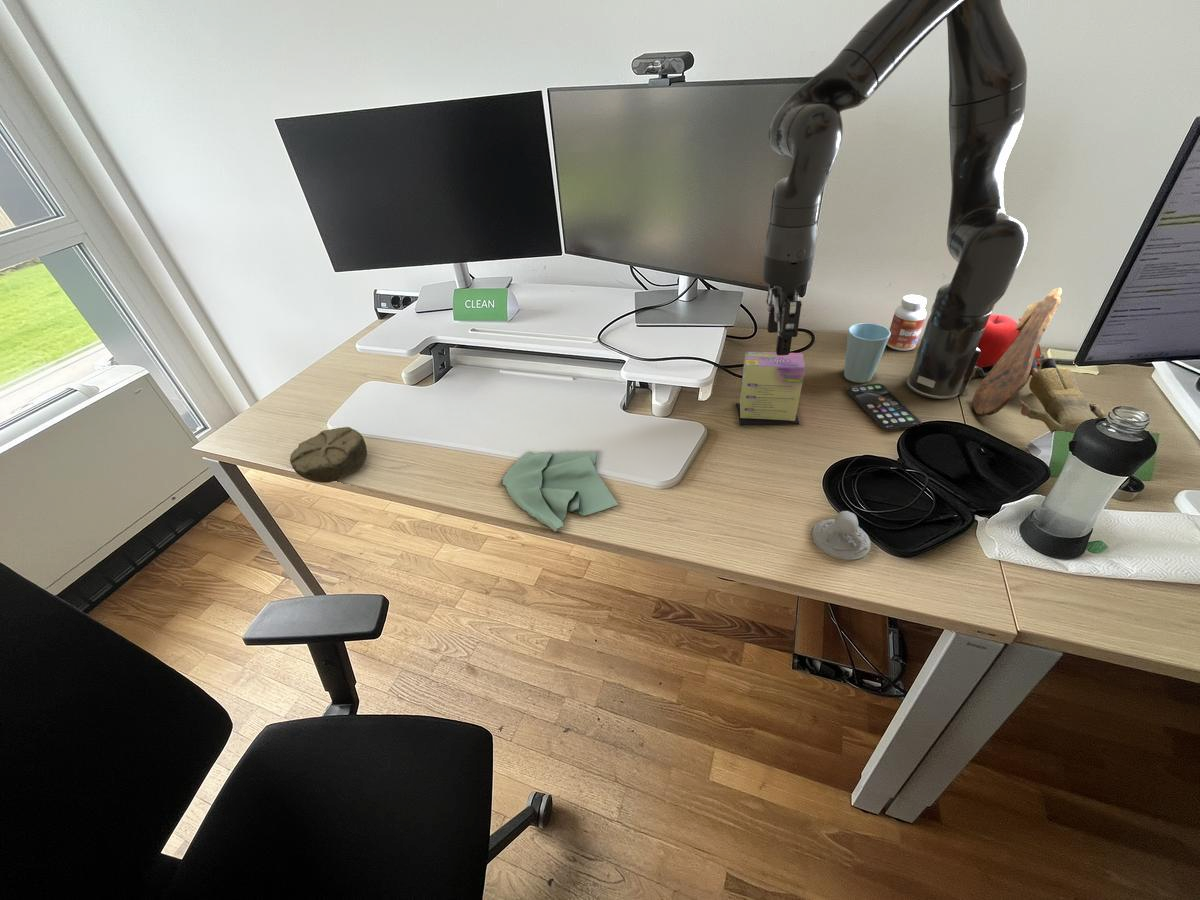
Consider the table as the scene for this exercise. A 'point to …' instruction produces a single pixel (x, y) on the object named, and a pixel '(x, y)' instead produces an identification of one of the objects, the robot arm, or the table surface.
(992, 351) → the apple
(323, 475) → the stone
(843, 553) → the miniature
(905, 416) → the smartphone
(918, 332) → the pill bottle
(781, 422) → the black striped rectangular slab
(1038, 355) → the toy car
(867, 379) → the cup
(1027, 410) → the figurine
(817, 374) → the table surface
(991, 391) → the paddle
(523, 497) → the cloth
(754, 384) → the box
